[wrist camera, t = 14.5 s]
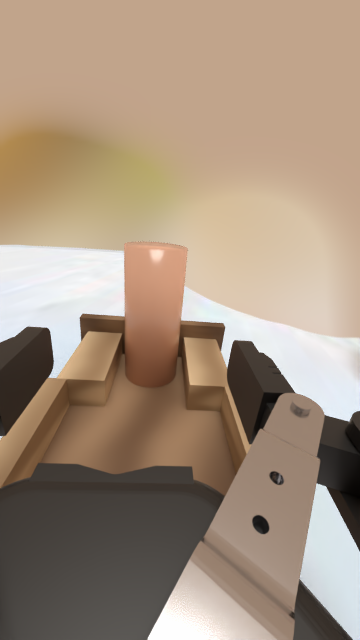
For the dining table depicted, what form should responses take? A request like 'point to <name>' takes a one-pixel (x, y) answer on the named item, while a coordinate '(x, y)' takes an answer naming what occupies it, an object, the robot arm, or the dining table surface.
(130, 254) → the salmon orange cylinder
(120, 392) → the keyhole track
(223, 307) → the dining table surface
